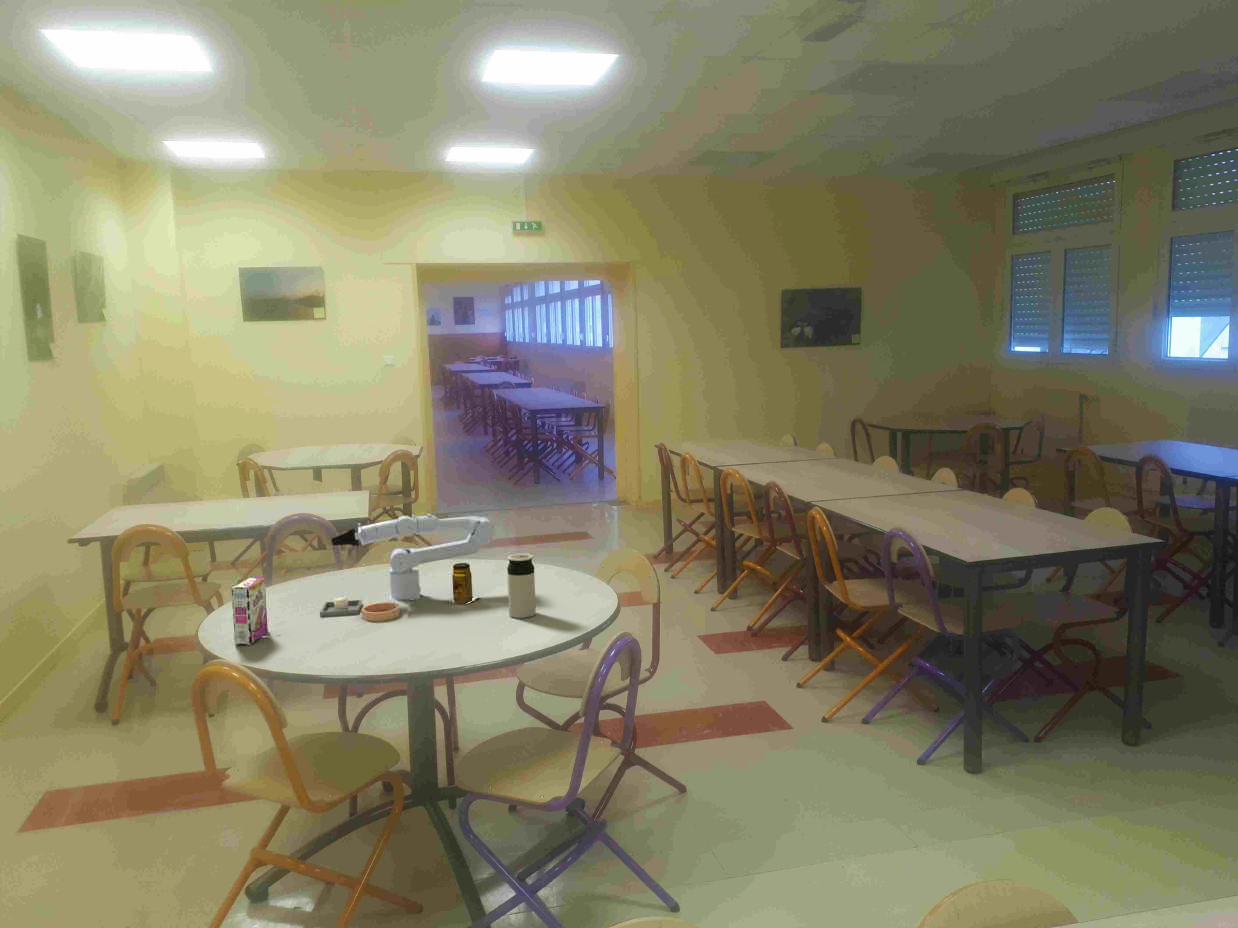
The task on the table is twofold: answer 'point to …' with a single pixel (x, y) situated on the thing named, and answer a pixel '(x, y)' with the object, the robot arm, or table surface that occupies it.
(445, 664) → the table surface
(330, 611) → the tray
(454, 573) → the condiment
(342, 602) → the cream round lump
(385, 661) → the table surface
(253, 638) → the candy bar box
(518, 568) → the travel mug
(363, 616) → the bowl
